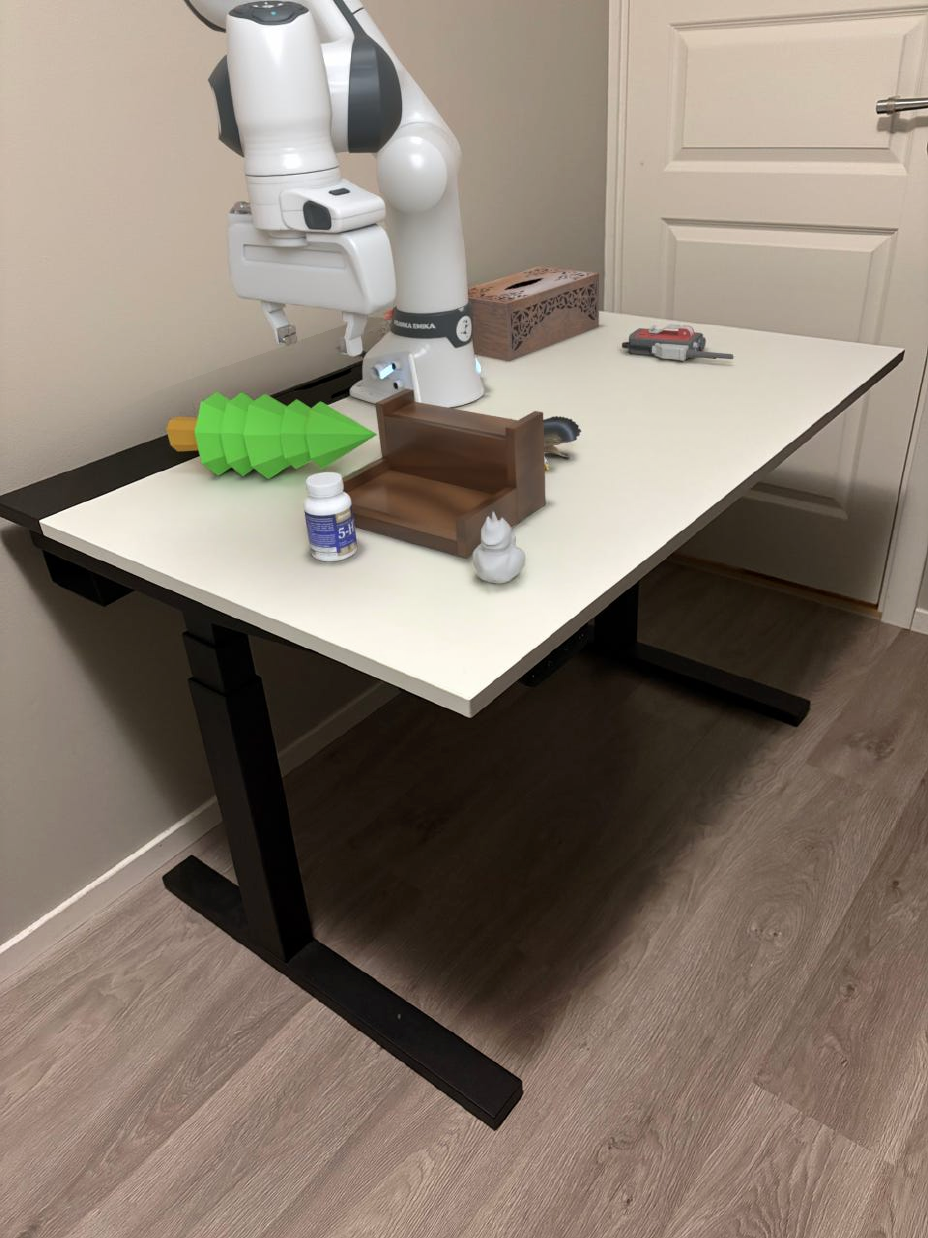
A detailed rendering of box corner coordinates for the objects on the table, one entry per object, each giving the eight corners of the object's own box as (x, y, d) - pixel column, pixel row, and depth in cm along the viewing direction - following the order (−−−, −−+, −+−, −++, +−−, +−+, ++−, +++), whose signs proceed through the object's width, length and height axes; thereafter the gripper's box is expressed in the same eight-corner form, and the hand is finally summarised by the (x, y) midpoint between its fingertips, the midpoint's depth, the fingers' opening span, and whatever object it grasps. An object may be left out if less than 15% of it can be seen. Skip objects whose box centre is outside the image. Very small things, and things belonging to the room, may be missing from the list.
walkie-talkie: (615, 356, 163) (730, 367, 154) (616, 330, 161) (732, 340, 152) (635, 343, 169) (746, 352, 160) (636, 317, 167) (749, 325, 158)
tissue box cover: (509, 362, 166) (506, 303, 160) (450, 350, 175) (446, 294, 169) (598, 327, 181) (599, 272, 176) (540, 318, 190) (539, 265, 185)
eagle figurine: (538, 476, 118) (592, 445, 121) (510, 425, 118) (565, 395, 121) (513, 489, 125) (565, 459, 129) (487, 441, 125) (539, 413, 128)
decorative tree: (174, 374, 129) (377, 371, 120) (209, 437, 138) (401, 438, 128) (139, 432, 123) (350, 433, 113) (178, 494, 131) (377, 499, 122)
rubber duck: (464, 587, 98) (458, 517, 94) (488, 558, 103) (484, 491, 99) (513, 595, 96) (509, 524, 92) (535, 565, 101) (533, 496, 97)
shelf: (467, 558, 103) (459, 459, 97) (331, 520, 114) (317, 429, 108) (545, 504, 114) (543, 411, 108) (415, 473, 125) (406, 388, 119)
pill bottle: (349, 563, 104) (338, 489, 100) (305, 562, 105) (292, 488, 101) (363, 541, 109) (353, 469, 104) (320, 540, 110) (308, 468, 105)
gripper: (201, 205, 94) (228, 345, 101) (351, 212, 82) (370, 369, 90) (249, 195, 98) (272, 330, 105) (398, 201, 87) (413, 352, 94)
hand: (318, 349), depth 97 cm, fingers open, 8 cm apart
